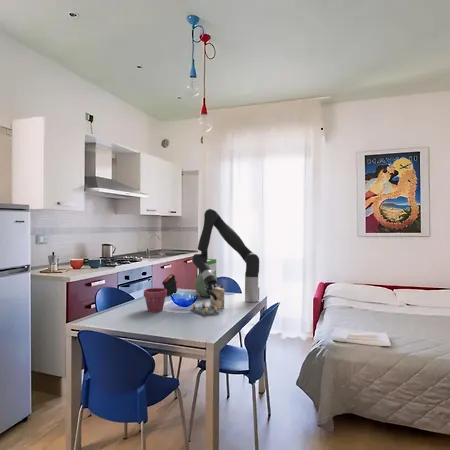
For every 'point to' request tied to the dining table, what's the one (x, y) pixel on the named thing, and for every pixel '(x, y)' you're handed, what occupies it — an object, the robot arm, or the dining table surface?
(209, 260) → the hardback book
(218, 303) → the panel
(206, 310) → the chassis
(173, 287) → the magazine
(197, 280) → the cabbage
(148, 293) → the plant pot
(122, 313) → the dining table surface
